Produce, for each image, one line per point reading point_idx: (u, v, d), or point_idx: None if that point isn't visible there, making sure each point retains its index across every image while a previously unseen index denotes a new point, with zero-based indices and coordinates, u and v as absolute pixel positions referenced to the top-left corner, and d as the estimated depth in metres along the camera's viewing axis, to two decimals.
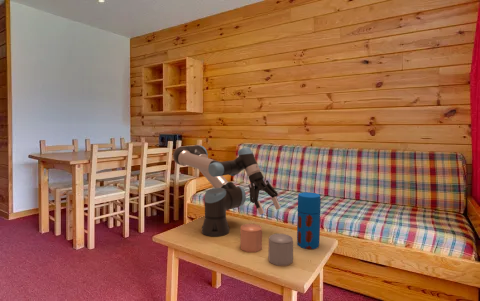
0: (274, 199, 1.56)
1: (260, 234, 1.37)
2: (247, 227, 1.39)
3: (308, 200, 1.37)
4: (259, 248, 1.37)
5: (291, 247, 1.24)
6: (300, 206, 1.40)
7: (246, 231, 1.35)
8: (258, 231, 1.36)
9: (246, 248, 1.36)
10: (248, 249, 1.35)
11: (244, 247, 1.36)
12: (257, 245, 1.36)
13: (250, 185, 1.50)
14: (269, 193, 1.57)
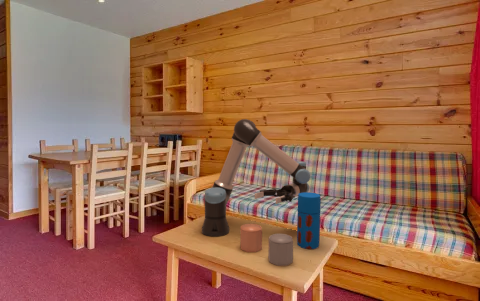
0: (262, 195, 1.54)
1: (260, 234, 1.37)
2: (247, 227, 1.39)
3: (308, 200, 1.37)
4: (259, 248, 1.37)
5: (291, 247, 1.24)
6: (300, 206, 1.40)
7: (246, 231, 1.35)
8: (258, 231, 1.36)
9: (246, 248, 1.36)
10: (248, 249, 1.35)
11: (244, 247, 1.36)
12: (257, 245, 1.36)
13: (294, 195, 1.52)
14: (268, 193, 1.56)
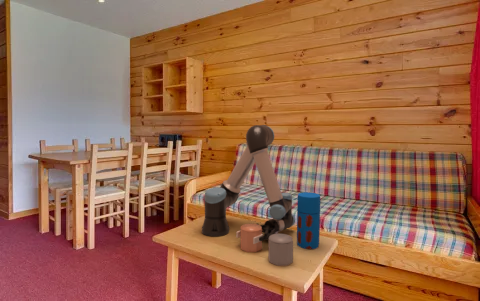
0: None
1: (260, 234, 1.37)
2: (247, 227, 1.39)
3: (308, 200, 1.37)
4: (259, 248, 1.37)
5: (291, 247, 1.24)
6: (300, 206, 1.39)
7: (246, 231, 1.35)
8: (258, 231, 1.36)
9: (246, 248, 1.36)
10: (248, 249, 1.35)
11: (244, 247, 1.36)
12: (257, 245, 1.36)
13: (276, 233, 1.44)
14: None
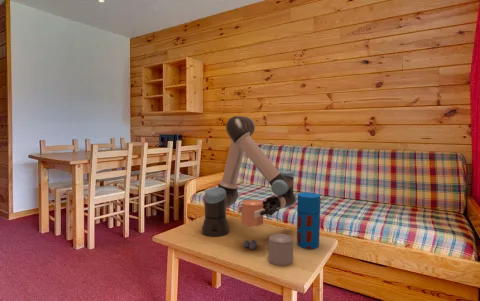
0: None
1: None
2: (248, 202, 1.38)
3: (308, 200, 1.37)
4: (260, 223, 1.36)
5: (291, 247, 1.24)
6: (300, 206, 1.39)
7: (247, 205, 1.35)
8: (259, 205, 1.35)
9: (247, 222, 1.35)
10: (249, 223, 1.35)
11: (245, 221, 1.36)
12: (258, 219, 1.35)
13: (278, 208, 1.43)
14: None
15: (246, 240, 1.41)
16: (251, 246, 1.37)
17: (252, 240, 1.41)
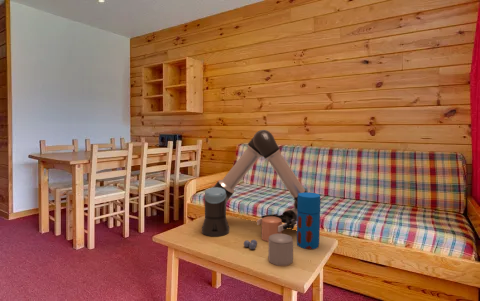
0: None
1: None
2: (268, 219, 1.51)
3: (308, 200, 1.37)
4: None
5: (291, 247, 1.24)
6: (300, 206, 1.39)
7: (268, 223, 1.47)
8: (279, 223, 1.47)
9: (267, 238, 1.47)
10: None
11: (266, 238, 1.48)
12: None
13: (295, 222, 1.55)
14: None
15: (246, 240, 1.41)
16: (251, 246, 1.37)
17: (252, 240, 1.41)
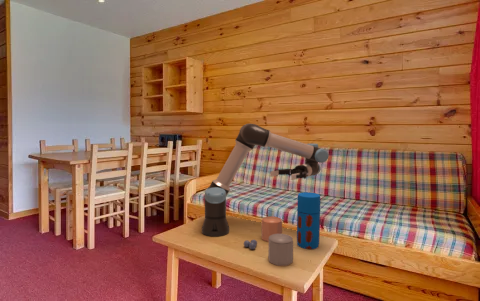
0: (277, 173, 1.63)
1: (280, 226, 1.49)
2: (268, 219, 1.51)
3: (308, 200, 1.37)
4: None
5: (291, 247, 1.24)
6: (300, 206, 1.39)
7: (268, 223, 1.47)
8: (279, 223, 1.47)
9: (267, 238, 1.47)
10: None
11: (266, 238, 1.48)
12: None
13: (307, 174, 1.61)
14: (283, 172, 1.65)
15: (246, 240, 1.41)
16: (251, 246, 1.37)
17: (252, 240, 1.41)
